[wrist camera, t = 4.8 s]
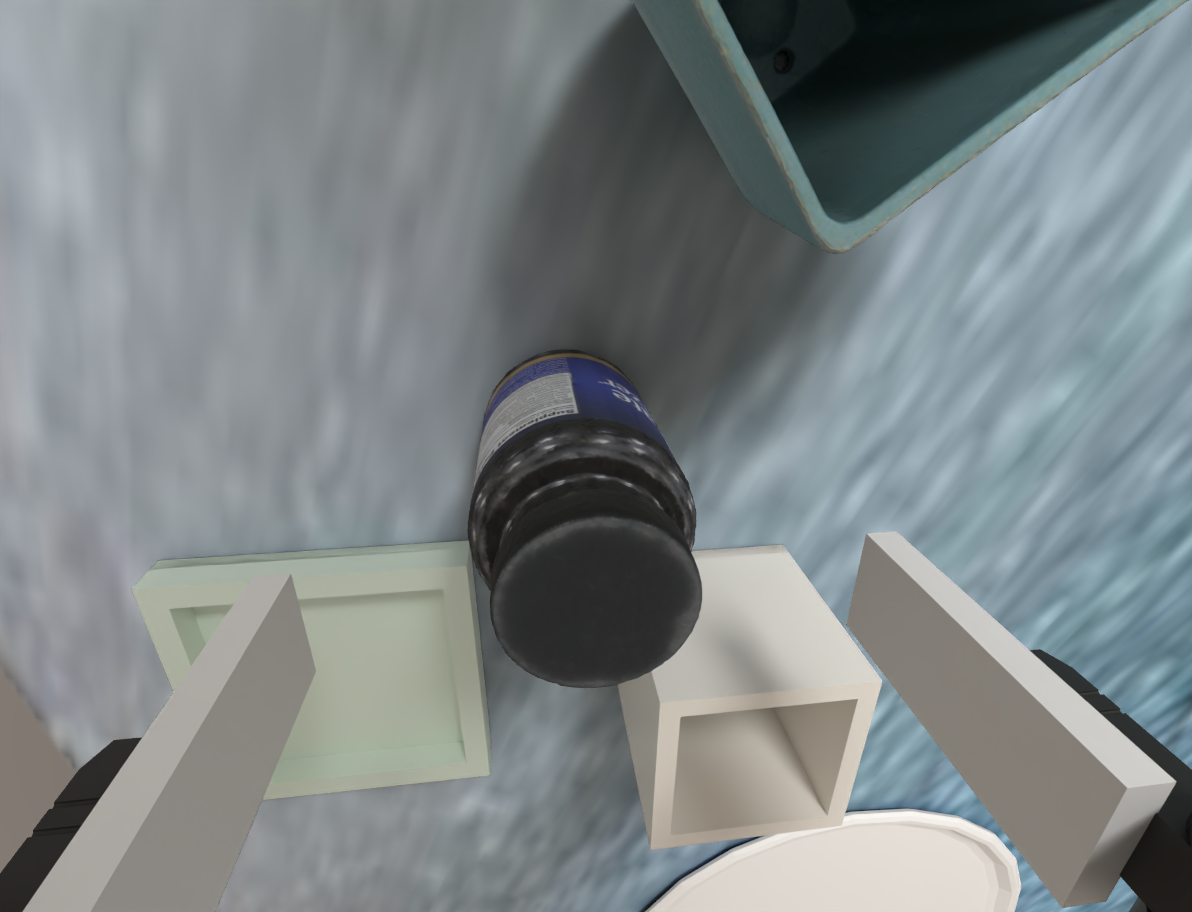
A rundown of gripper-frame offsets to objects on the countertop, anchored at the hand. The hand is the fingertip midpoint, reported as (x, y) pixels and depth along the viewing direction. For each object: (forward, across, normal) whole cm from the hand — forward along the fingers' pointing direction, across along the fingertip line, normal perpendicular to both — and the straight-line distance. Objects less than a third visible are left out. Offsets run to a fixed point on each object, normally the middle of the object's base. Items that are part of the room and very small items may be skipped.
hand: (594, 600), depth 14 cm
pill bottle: (+10, 0, 0) cm, 10 cm away
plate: (+11, +17, -40) cm, 44 cm away
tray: (+10, -10, -10) cm, 18 cm away
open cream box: (+10, +6, -10) cm, 15 cm away
